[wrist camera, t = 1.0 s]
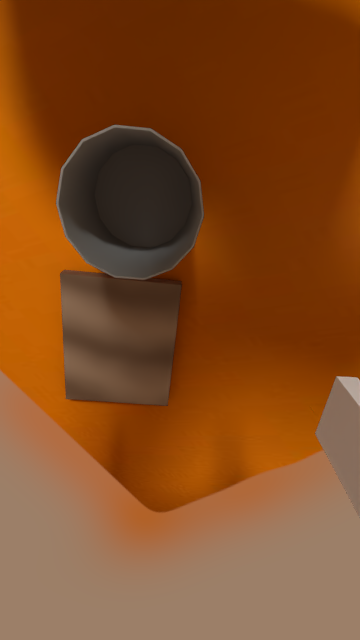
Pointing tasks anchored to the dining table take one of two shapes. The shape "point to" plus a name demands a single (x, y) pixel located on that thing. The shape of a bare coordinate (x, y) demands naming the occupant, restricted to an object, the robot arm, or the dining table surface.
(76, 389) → the walnut board
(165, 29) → the dining table surface
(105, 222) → the cup
